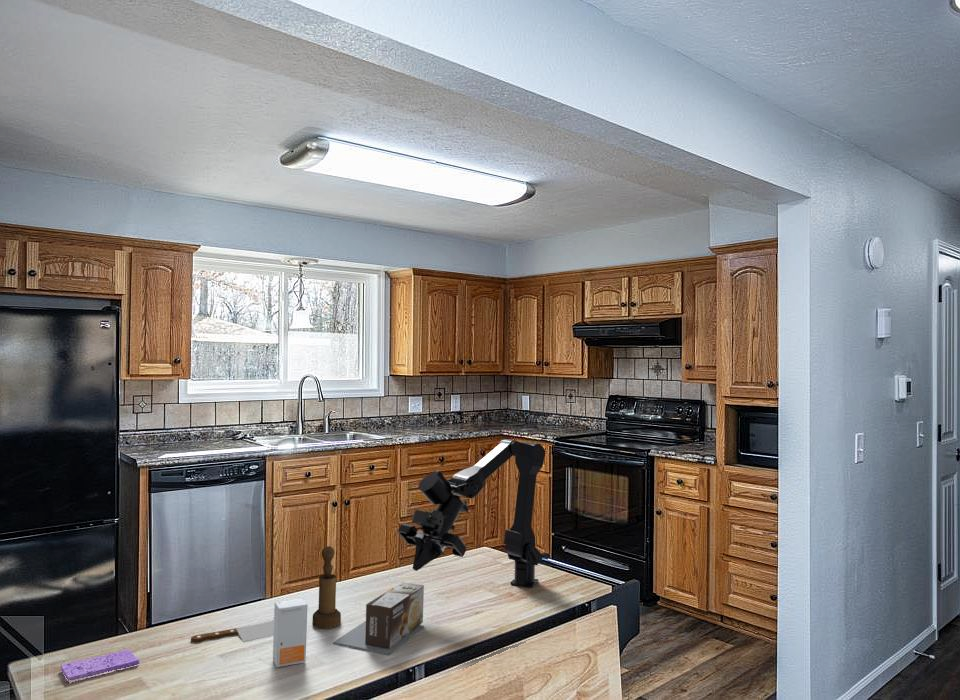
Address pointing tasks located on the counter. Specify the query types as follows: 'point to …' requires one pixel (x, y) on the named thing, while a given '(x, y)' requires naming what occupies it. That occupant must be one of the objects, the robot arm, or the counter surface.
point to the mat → (357, 641)
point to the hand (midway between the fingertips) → (414, 569)
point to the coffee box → (394, 615)
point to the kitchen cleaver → (240, 633)
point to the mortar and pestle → (327, 595)
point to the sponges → (99, 664)
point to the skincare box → (290, 632)
